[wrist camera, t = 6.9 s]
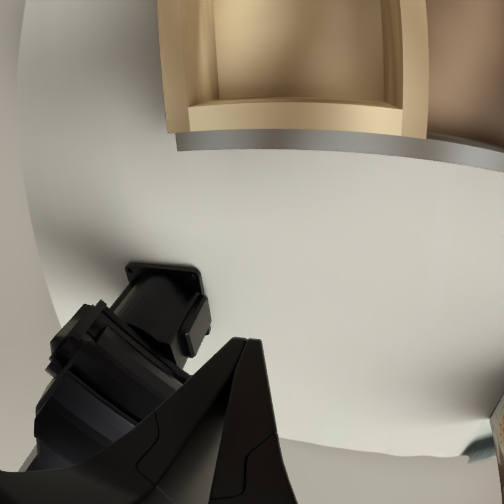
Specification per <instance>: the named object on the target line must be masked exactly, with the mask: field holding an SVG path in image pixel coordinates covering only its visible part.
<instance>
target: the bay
mask: <svg viewBox="0 0 504 504" xmlns="http://www.w3.org/2000/svg"><path fill="white" fill-rule="evenodd" d="M425 2H426V12H427V26H428V46H429V97H428V119H427V133H426V139H421V138H413V137H405V136H396V135H387V134H377V133H366V132H353V131H337V130H315V129H230V130H208V131H193V132H179V133H175V135H176V143H177V151H192V150H218V149H297V150H323V151H342V152H356V153H369V154H381V155H391V156H400V157H409V158H418V159H426V160H433V161H440V162H447V163H453V164H460V165H466V166H472V167H477V168H483V169H488V170H493V171H498V172H503V173H504V0H425Z"/></svg>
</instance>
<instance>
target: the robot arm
mask: <svg viewBox="0 0 504 504" xmlns="http://www.w3.org/2000/svg"><path fill="white" fill-rule="evenodd" d="M131 269H132V270H131ZM125 271H126V274H127V277H128V281H129V285H128V286H127V287H126V289H125V290H124V291H123V292H122V293H121V295H120V296H119V297H118V298H117V300H116V301H115V302H114V303H113V305H112V306H111V307H110V308H108V307H107V306H106V305H107V304H106V303H105V302H104V301H102V300H100V301H99V302H98V303H97V305H96V306H94V305H93V304H92V306H91V305H87V304H83V306H82V307H81V308H80V309H79V310H78V311H77V313H76V314H75V315H74V316H73V317H72V318H71V319H70V320H69V322H68V323H67V324H66V325H65V326H64V327H63V328H62V329H61V330H60V331H59V332H58V333H57V334H56V335H55V337H54V338H53V339H52V340H51V342H50V346H51V354H52V355H51V357H50V358H49V360H50V361H51V363H50V364H49V365H48V367H47V368H46V369H45V371H46V372H48V373H49V374H50V375H51V376H53V377H54V378H53V379H52V381H51V382H50V383H49V385H48V386H47V388H46V389H45V391H44V393H43V395H42V397H41V399H40V400H39V402H38V404H37V406H36V418H35V421H34V437H35V438H36V441H37V444H36V446H35V447H34V449H33V450H32V452H31V453H30V455H29V456H28V457H27V459H26V461H25V462H24V463H23V465H22V466H21V468H20V470H19V471H18V472H5V471H1V470H0V504H298V502H297V500H296V497H295V494H294V492H293V489H292V486H291V483H290V481H289V478H288V475H287V472H286V468H285V465H284V462H283V458H282V453H281V448H280V444H279V438H278V434H277V427H276V421H275V415H274V410H273V404H272V398H271V392H270V386H269V380H268V375H267V369H266V363H265V357H264V351H263V345H262V341H261V340H260V339H252V338H249V339H246V338H241V337H233V338H231V339H230V340H229V341H228V342H227V343H226V344H225V345H224V346H223V347H222V348H221V349H220V350H219V351H218V352H217V353H216V354H215V355H214V356H213V357H212V358H211V359H209V360H208V361H207V362H206V363H205V364H204V365H203V366H202V367H201V368H200V369H199V370H198V371H197V372H196V373H195V374H194V375H189V374H188V373H187V372H185V371H184V370H183V367H184V365H185V363H186V361H187V359H188V357H189V358H193V357H195V356H196V354H197V352H198V349H199V347H200V345H201V343H202V341H203V338H204V336H205V335H209V333H210V331H211V327H210V323H211V315H210V310H209V304H208V298H207V297H206V295H204V289H203V283H202V277H201V273H200V272H199V271H198V270H197V269H194V268H183V267H172V266H162V265H151V264H141V263H128V264H127V265H126V267H125ZM192 274H193V275H195V276H196V277H194V276H192Z"/></svg>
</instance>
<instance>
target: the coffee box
mask: <svg viewBox="0 0 504 504" xmlns="http://www.w3.org/2000/svg"><path fill="white" fill-rule="evenodd" d="M490 424H491V429H492V434H493V439H494V444H495V449H496V456H497V461H498V468H499V475H500V483H501V492H502V504H504V394H503V396H502V398H501V400H500V402H499V404H498V406H497V407H496V409H495V411H494V413H493V414H492V416H491V418H490Z"/></svg>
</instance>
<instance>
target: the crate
mask: <svg viewBox="0 0 504 504" xmlns="http://www.w3.org/2000/svg"><path fill="white" fill-rule="evenodd" d="M157 15H158V32H159V47H160V60H161V72H162V83H163V93H164V103H165V112H166V121H167V130H168V133H179V132H193V131H208V130H230V129H315V130H337V131H353V132H366V133H377V134H387V135H396V136H405V137H413V138H421V139H426V133H427V119H428V97H429V46H428V26H427V12H426V2H425V0H157Z"/></svg>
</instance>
